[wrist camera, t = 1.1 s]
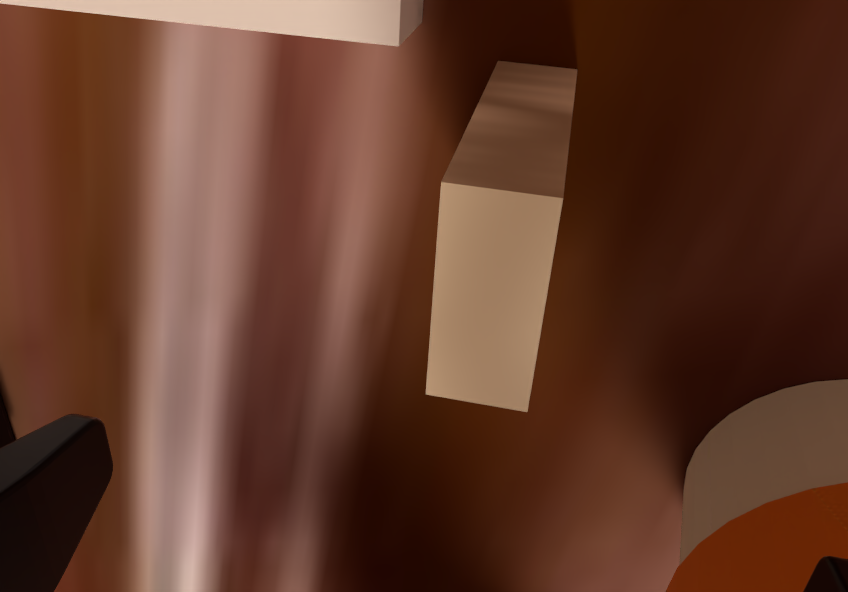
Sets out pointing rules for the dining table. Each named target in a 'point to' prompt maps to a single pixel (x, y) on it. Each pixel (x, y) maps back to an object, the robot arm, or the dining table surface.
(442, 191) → the tan cuboid brick
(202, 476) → the dining table surface
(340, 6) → the dish
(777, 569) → the reusable coffee cup
